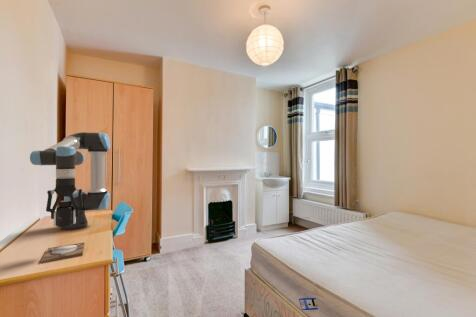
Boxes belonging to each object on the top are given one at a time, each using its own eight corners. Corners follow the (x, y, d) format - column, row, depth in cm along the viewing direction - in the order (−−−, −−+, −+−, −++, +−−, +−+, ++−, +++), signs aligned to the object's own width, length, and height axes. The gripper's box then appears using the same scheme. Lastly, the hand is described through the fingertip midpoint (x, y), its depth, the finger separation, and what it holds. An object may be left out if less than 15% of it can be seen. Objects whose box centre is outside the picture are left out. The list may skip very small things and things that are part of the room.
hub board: (48, 250, 111) (48, 246, 111) (84, 244, 119) (84, 240, 119) (41, 263, 98) (41, 258, 98) (82, 255, 106) (82, 251, 106)
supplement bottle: (53, 228, 104) (54, 202, 104) (58, 224, 110) (59, 200, 110) (71, 226, 107) (71, 201, 107) (75, 222, 113) (75, 199, 113)
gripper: (37, 179, 100) (36, 229, 100) (89, 177, 111) (88, 223, 111) (40, 177, 107) (40, 225, 107) (89, 176, 117) (89, 219, 117)
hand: (65, 224), depth 109 cm, fingers closed on supplement bottle, 7 cm apart
